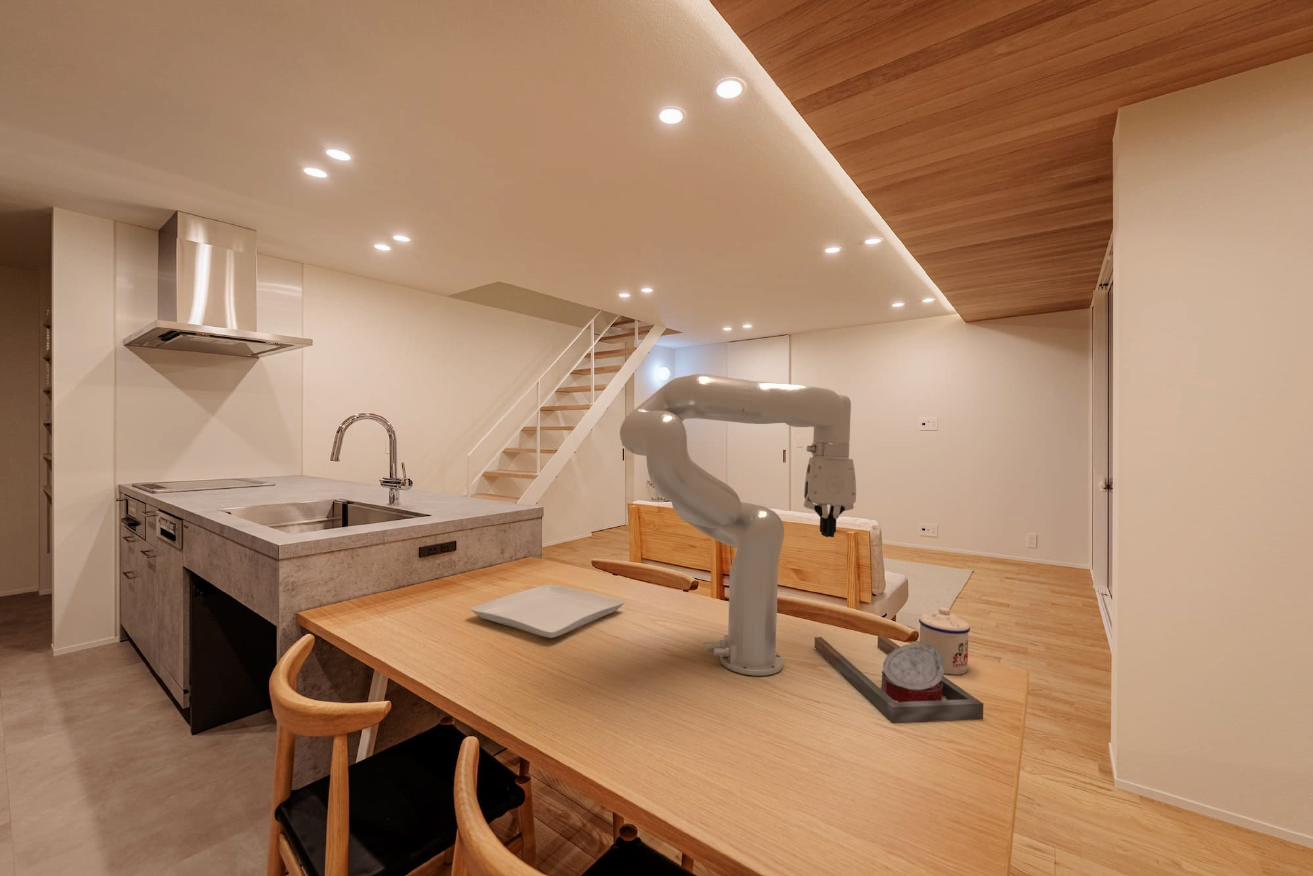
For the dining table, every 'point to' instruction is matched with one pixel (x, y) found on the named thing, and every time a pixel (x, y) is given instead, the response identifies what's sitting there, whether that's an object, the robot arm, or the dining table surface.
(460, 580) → the dining table surface
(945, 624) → the teacup with lid
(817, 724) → the dining table surface
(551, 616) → the square plate
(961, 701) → the can dock
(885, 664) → the canned food
